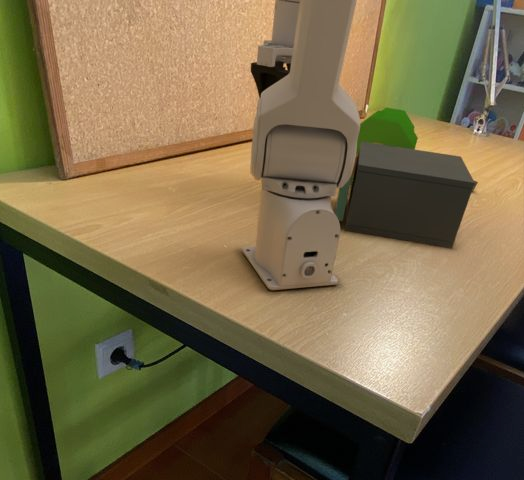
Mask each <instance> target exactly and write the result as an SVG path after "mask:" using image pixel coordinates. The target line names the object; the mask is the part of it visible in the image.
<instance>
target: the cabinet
mask: <svg viewBox="0 0 524 480" xmlns="http://www.w3.org/2000/svg"><path fill="white" fill-rule="evenodd" d="M474 181H475V180H474V178H473V176H472V174H471V172H470V171H469V169H468V167H467V165H466V164H465V161H464V160H463V158H462V156H460V155H453V154H447V153H441V152H434V151H426V150H420V149H416V148H415V149H408V148H401V147H395V146H388V145H382V144H375V143H369V142H362V141H361V142H360V147H359V152H358V157H357V162H356V166H355V171H354V176H353V179H352V180H351V185H350V190H349V195H348V199H347V209H346V218H345V225H344V231H348V232H354V233H359V234H364V235H365V234H367V235H372V236H376V237H377V236H378V237H383V238H390V239H396V240H402V241H408V242H413V243H419V244H426V245H430V246H431V245H432V246H437V247H443V248H449V249H453V246H454V243H455V241H456V238H457V235H458V232H459V229H460V228H461V227H460V226H461V223H462V221H463V218H464V215H465V212H466V209H467V206H468V204H469V201H470V198H471V195H472V193H473V192H472V190H473V187H474V184H475V182H474Z"/></svg>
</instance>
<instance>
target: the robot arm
mask: <svg viewBox="0 0 524 480" xmlns="http://www.w3.org/2000/svg"><path fill="white" fill-rule="evenodd" d="M274 1H275V2H274V9H273V10H274V12H273V22H272V30H271V31H272V32H271V39H266V40H263V44H262V45H261V44H260V45H259V44H258V45H257V55H256V61H255V62H253V61H252V62H251V63H250V73H251V76H252V78H253V81H254V83H255V86H256V90H257V94H258V99H257V104H256V113H255V116H254V119H253V126H252V127H253V128H252V137H251V138H252V139H251V149H250V150H251V151H250V171H249V172H250V174H251V176H252V177H253V179H254V180H255V181H260V197H259V205H258V214H257V215H258V216H257V217H258V218H257V225H256V234H255V235H256V236H255V245H252V246H251V245H250V246H243V247H242V250H241V251H242V253H243V255H244V256H245V257H246V258H247V260H248V262H249V264H250V265H251V266H252V267H253V269H254V270H255V272H256V273H257V275H258V276H259V277H260V279H261V280H262V282H263V284H264V285H265V286H266V287H267V289H269V290H270V291H279V290H289V289H292V290H293V289H302V288H312V287H323V286H335V285H337V284H338V282H339V279H338V278H337V277H336V276H335V275H334V274H333V271H334V266H335V262H336V257H337V252H338V249H339V241H340V237H341V223H340V221H338V218H337V217H336V215H335V211H334V210H333V207H332V201H331V199H332V197H335V196H336V193H337V188H338V189H339V188H342V187H343V186H344V185H345V184H346V183H347V182H348V181H349V179H350V177H351V174H352V171H353V167H354V163H355V158H356V150H357V139H358V135H359V130H360V123H361V117H360V113H359V108H358V105H357V103H356V102H355V100H354V99H353V98H352V97H351V95H349V93H347V92H346V90H345V89H344V87H342V86H341V84H340V79H341V75H342V71H343V65H344V60H345V56H346V52H347V47H348V42H349V39H350V38H349V37H350V34H351V29H352V24H353V20H354V19H353V18H354V15H355V10H356V9H355V8H356V5H357V1H358V0H274ZM284 65H286V66H284Z"/></svg>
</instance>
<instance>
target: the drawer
mask: <svg viewBox="0 0 524 480" xmlns="http://www.w3.org/2000/svg"><path fill="white" fill-rule="evenodd" d="M352 173H353V171H352ZM351 184H352V174H351V177H350V179H349V181H348V182H347V183H346V184H345V185H344V186H343V187H342V188H338V193H337V198H336V205H335V209H334V214H335V215H336V217H337V218H338V221H339V222H343V221H344V216H345V211H346V208H347V207H346V206H347V203H348V199H349V194H350V189H351Z"/></svg>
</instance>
